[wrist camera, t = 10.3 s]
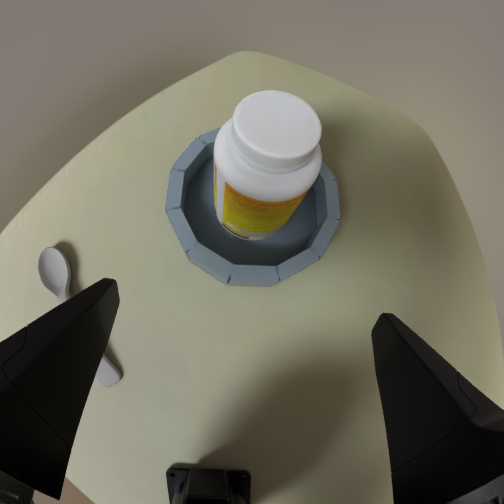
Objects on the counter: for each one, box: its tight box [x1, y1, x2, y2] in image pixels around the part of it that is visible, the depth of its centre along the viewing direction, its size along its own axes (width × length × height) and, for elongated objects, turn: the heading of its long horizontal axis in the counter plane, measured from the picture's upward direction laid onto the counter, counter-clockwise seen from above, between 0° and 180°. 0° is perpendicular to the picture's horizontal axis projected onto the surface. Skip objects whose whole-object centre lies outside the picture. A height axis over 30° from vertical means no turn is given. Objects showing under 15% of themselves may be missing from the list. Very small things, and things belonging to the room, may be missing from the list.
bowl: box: [165, 127, 341, 287], centre depth 21 cm, size 12×12×3 cm
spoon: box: [38, 247, 121, 387], centre depth 18 cm, size 3×12×2 cm, turn 33°
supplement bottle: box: [214, 90, 322, 240], centre depth 16 cm, size 6×6×10 cm
